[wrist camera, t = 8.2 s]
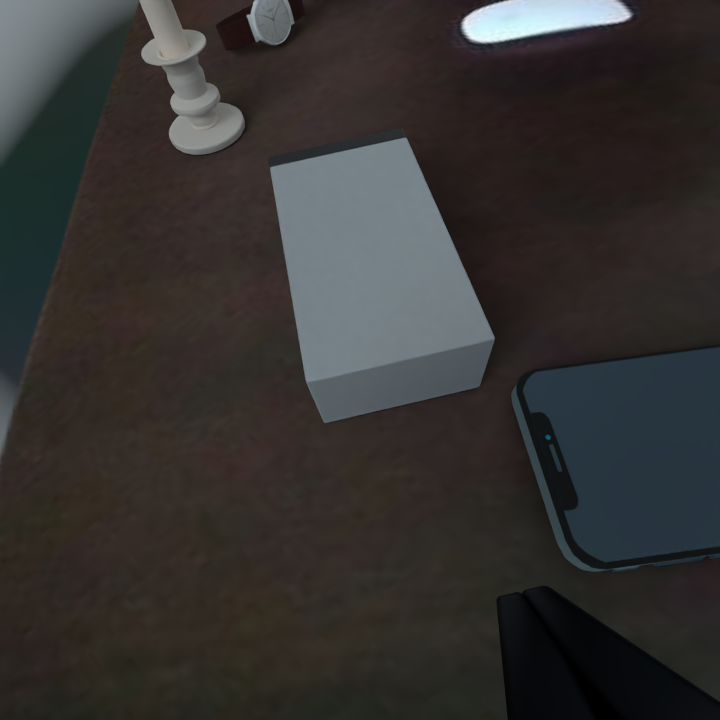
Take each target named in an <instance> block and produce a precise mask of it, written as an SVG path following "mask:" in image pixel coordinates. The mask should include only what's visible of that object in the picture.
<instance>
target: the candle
mask: <svg viewBox="0 0 720 720" xmlns="http://www.w3.org/2000/svg"><path fill="white" fill-rule="evenodd" d="M139 1H140V3H141V6H142V8H143V11H144V13H145V15H146V18H147V20H148V22H149V25H150V27H151V30H152V32H153V34H154V37H155V38H154V39H153V40H151V41H150V42H149V43H147V44H146V45H145V47H144V48H143V49H142V53H141V54H142V58H143V59H144V61H145V62H147V63H149V64H152V65H158V66H160V65H162V68H163V69H164V70H165V71H166V72H167V78H168V82H169V83H170V85H171V87H172V88H173V90H174V91H175V93H174V94H173V96H172V97H171V101H170V103H171V106H172V109H173V110H174V112H175V113H177V114H179V116H178V117H177V118H176V119H175V120H174V122H173V123H172V125H171V127H170V130H169V136H170V140H171V142H172V144H173V145H174V146H175V147H176V149H178V150H180V151H182V152H184V153H187V154H192V155H203V154H210V153H214V152H217V151H220V150H222V149H224V148H226V147H228V146H230V145H231V144H233V143H234V142H235V141H236V140H237V139H238V138H239V137H240V136H241V135H242V132H243V130H244V128H245V120H244V117H243V115H242V113H241V111H240V110H239V109H238V108H237V107H235V106H232V105H230V104H226V103H219V101H220V94H219V91H218V89H217V88H216V87H215V86H214V85H212V84H210V83H206V81H205V76H204V72H203V69H202V68H201V66H200V65H199V63H198V57H197V54H198V53H199V52H201V51H202V50H203V48H204V47H205V45H206V39H205V36H204V35H203V34H202V33H200V32H198V31H194V30H183V29H182V27H181V24H180V22H179V19H178V17H177V14H176V12H175V9H174V7H173V4H172V2H171V0H139Z"/></svg>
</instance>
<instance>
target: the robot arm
mask: <svg viewBox="0 0 720 720" xmlns="http://www.w3.org/2000/svg"><path fill="white" fill-rule="evenodd" d="M497 612H498V623H499V633H500V644H501V654H502V664H503V675H504V685H505V695H506V706H507V716H508V720H720V702H719V701H717V700H716V699H714V698H713V697H711V696H710V695H708V694H707V693H705V692H704V691H703V690H701V689H700V688H698V687H697V686H695V685H694V684H692V683H691V682H689V681H688V680H686V679H685V678H683V677H682V676H680V675H679V674H677V673H676V672H674V671H673V670H671V669H670V668H668V667H667V666H666V665H664V664H663V663H661V662H660V661H658V660H657V659H655V658H654V657H652V656H651V655H649V654H648V653H646V652H645V651H643V650H642V649H640V648H639V647H637V646H636V645H634V644H633V643H631V642H630V641H629V640H627V639H626V638H624V637H623V636H621V635H620V634H618V633H617V632H615V631H614V630H612V629H611V628H609V627H608V626H606V625H605V624H603V623H602V622H600V621H599V620H597V619H596V618H594V617H593V616H591V615H590V614H589V613H587V612H586V611H584V610H583V609H581V608H580V607H578V606H577V605H575V604H574V603H572V602H571V601H569V600H568V599H566V598H565V597H563V596H562V595H560V594H559V593H557V592H556V591H554V590H553V589H552V588H550V587H548V586H539V587H535V588H531V589H527V590H524V591H523V592H522V594H521V593H519V592H515V593H511V594H507V595H503V596H499V597H498V598H497Z"/></svg>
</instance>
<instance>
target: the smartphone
mask: <svg viewBox="0 0 720 720" xmlns="http://www.w3.org/2000/svg"><path fill="white" fill-rule="evenodd" d="M511 397H512V405H513V408H514V411H515V414H516V417H517V420H518V423H519V427H520V430H521V433H522V436H523V439H524V442H525V445H526V448H527V451H528V454H529V457H530V461H531V464H532V467H533V470H534V473H535V476H536V479H537V482H538V485H539V488H540V492H541V495H542V498H543V501H544V504H545V507H546V510H547V513H548V516H549V519H550V523H551V526H552V529H553V532H554V535H555V538H556V541H557V544H558V546H559V548H560V550H561V551H562V553H563V555H564V557H565V558H566V559H567V560H568V561H570V562H571V563H572V564H573V565H575V566H576V567H578V568H580V569H582V570H586V571H593V572H597V571H604V570H612V573H614V572H621V571H628V570H635V569H639V568H638V566H640V565H647V564H653V566H654V567H657V566H664V565H671V564H678V563H685V562H692V561H699V560H704V559H703V557H704V556H709V558H710V559H713V558H720V345H713V346H706V347H699V348H691V349H684V350H676V351H669V352H662V353H654V354H647V355H639V356H632V357H625V358H617V359H610V360H602V361H595V362H588V363H580V364H573V365H565V366H558V367H551V368H543V369H536V370H532V371H529V372H526V373H524V374H523V375H522V376H521V377H520V378H519V380H518V382H517V383H516V385H515V387H514V389H513V391H512V393H511Z"/></svg>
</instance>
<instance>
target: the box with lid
mask: <svg viewBox="0 0 720 720" xmlns="http://www.w3.org/2000/svg"><path fill="white" fill-rule="evenodd" d="M269 165H270V171H271V177H272V183H273V189H274V195H275V201H276V207H277V213H278V219H279V224H280V230H281V236H282V242H283V248H284V254H285V260H286V266H287V272H288V278H289V284H290V290H291V296H292V302H293V308H294V313H295V319H296V325H297V331H298V337H299V343H300V349H301V355H302V361H303V367H304V373H305V379H306V383H307V385H308V387H309V390H310V392H311V394H312V397H313V399H314V401H315V403H316V406H317V408H318V410H319V412H320V415H321V417H322V419H323V422H324V423H328V422H332V421H337V420H341V419H345V418H349V417H354V416H358V415H362V414H366V413H371V412H375V411H379V410H383V409H388V408H392V407H396V406H400V405H405V404H409V403H413V402H418V401H422V400H426V399H430V398H435V397H439V396H443V395H447V394H452V393H456V392H460V391H464V390H469V389H473V388H477V387H480V384H481V381H482V378H483V375H484V372H485V369H486V365H487V362H488V359H489V356H490V353H491V350H492V347H493V344H494V340H495V337H494V335H493V332H492V330H491V328H490V326H489V323H488V321H487V319H486V317H485V314H484V312H483V310H482V308H481V305H480V303H479V301H478V299H477V296H476V294H475V292H474V290H473V287H472V285H471V283H470V280H469V278H468V276H467V274H466V271H465V269H464V267H463V265H462V262H461V260H460V258H459V256H458V253H457V251H456V249H455V247H454V244H453V242H452V240H451V238H450V235H449V233H448V231H447V228H446V226H445V224H444V222H443V219H442V217H441V215H440V213H439V210H438V208H437V206H436V204H435V201H434V199H433V197H432V195H431V192H430V190H429V188H428V186H427V183H426V181H425V179H424V176H423V174H422V172H421V170H420V167H419V165H418V163H417V161H416V158H415V156H414V154H413V152H412V149H411V147H410V145H409V143H408V140H407V138H406V136H405V134H404V131H403V129H402V128H400V129H396V130H391V131H387V132H382V133H377V134H373V135H368V136H364V137H359V138H355V139H350V140H345V141H341V142H336V143H332V144H327V145H323V146H318V147H313V148H309V149H304V150H300V151H295V152H291V153H286V154H281V155H277V156H272V157H269Z"/></svg>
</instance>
